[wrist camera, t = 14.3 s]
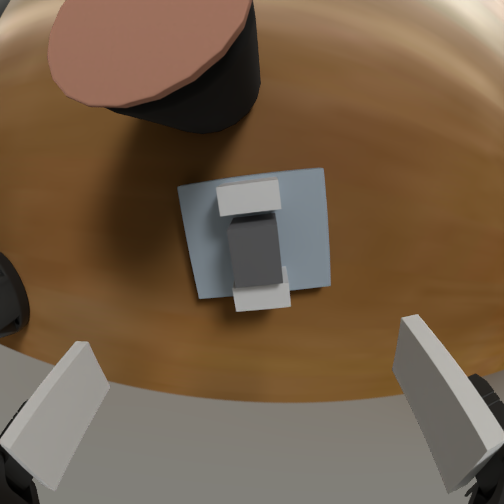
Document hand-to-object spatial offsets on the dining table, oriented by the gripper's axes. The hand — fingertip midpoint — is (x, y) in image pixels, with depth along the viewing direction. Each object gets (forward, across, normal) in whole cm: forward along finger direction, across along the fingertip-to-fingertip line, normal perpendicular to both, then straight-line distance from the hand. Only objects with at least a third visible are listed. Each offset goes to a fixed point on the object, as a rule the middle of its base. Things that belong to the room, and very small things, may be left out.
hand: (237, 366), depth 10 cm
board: (+20, 0, 0) cm, 20 cm away
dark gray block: (+18, 0, 0) cm, 18 cm away
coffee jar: (+21, -3, +16) cm, 26 cm away
